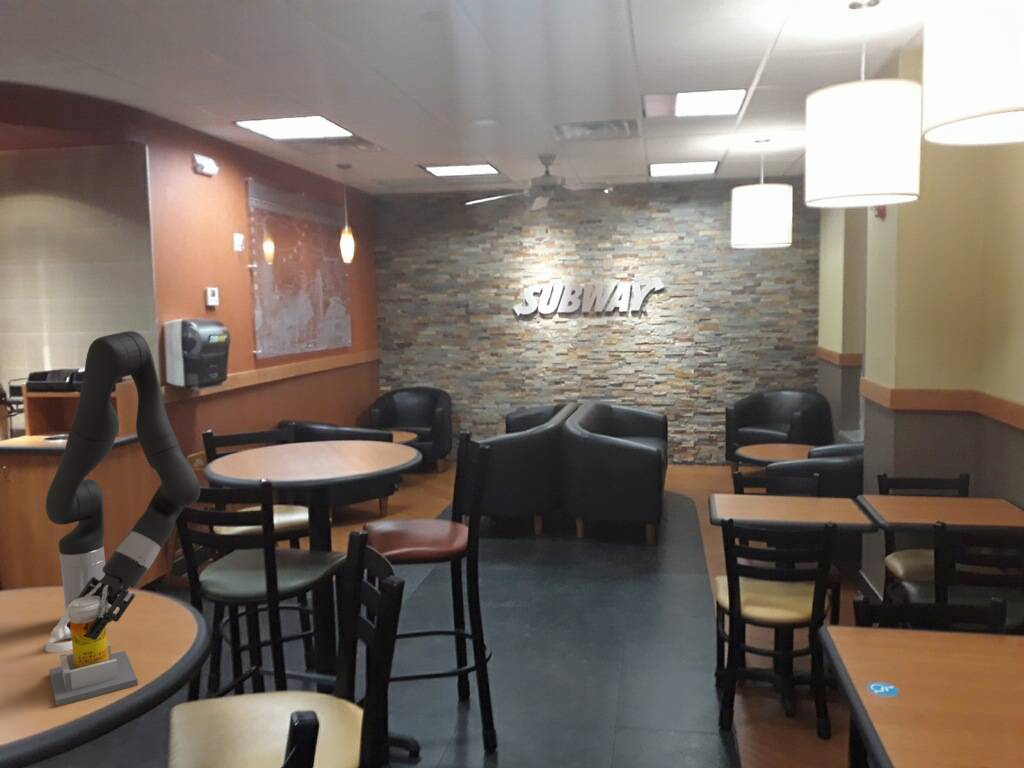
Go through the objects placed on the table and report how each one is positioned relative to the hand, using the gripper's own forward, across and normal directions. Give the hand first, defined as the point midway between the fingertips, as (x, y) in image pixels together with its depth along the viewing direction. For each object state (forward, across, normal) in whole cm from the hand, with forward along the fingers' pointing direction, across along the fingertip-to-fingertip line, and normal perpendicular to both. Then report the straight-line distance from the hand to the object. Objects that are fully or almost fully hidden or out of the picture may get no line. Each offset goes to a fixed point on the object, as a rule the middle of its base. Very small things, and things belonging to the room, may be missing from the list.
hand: (80, 633), depth 161 cm
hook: (+3, -23, +12) cm, 26 cm away
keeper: (+6, 0, +8) cm, 10 cm away
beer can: (+5, 0, +8) cm, 9 cm away
